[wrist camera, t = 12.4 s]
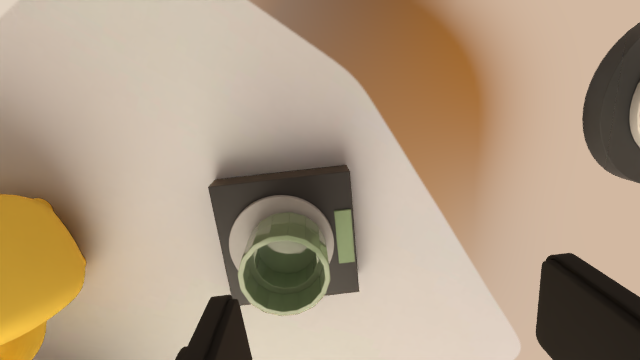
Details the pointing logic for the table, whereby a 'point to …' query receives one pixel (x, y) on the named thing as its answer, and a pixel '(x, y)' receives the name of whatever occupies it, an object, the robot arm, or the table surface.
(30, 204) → the teapot
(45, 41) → the table surface
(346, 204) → the scale
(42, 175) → the table surface
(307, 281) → the green cup
